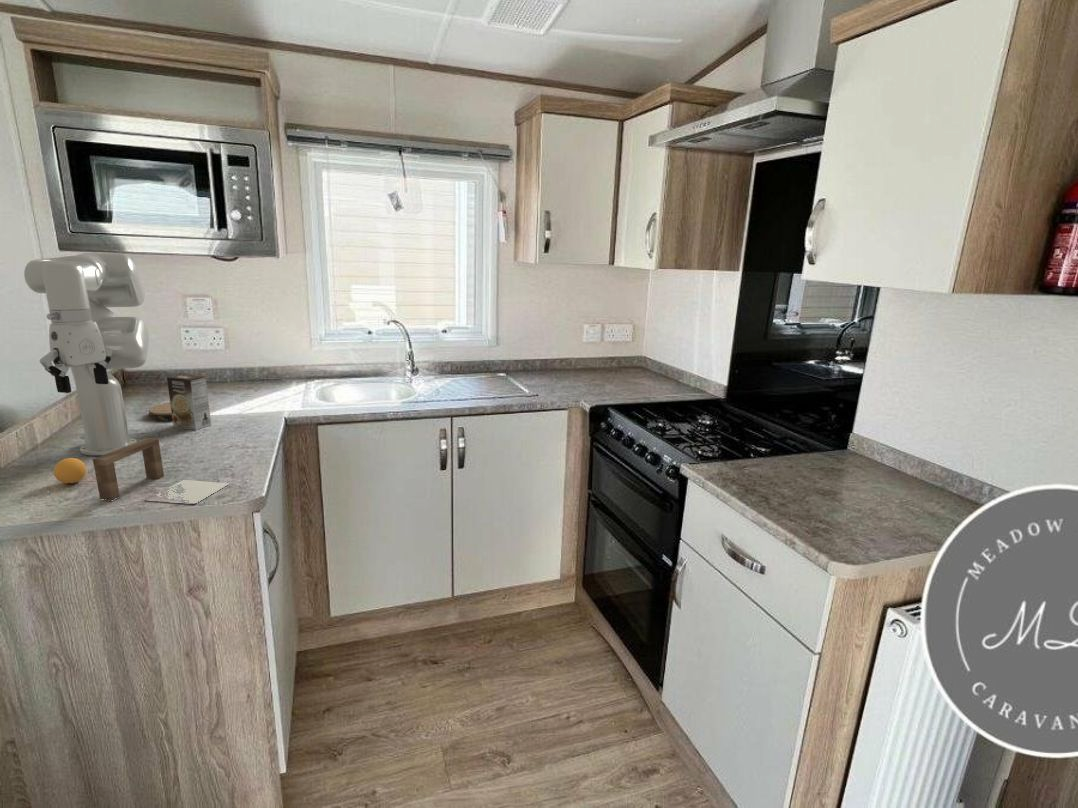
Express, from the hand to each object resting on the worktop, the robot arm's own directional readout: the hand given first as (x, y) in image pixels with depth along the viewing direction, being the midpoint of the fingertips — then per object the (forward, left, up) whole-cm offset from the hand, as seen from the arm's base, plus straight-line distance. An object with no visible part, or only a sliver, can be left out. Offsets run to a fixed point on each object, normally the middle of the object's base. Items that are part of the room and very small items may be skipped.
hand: (84, 388), depth 138 cm
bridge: (+19, -5, -21) cm, 28 cm away
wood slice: (-24, +44, -22) cm, 54 cm away
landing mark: (+32, -3, -21) cm, 39 cm away
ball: (+3, -8, -18) cm, 20 cm away
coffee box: (-9, +36, -21) cm, 43 cm away
